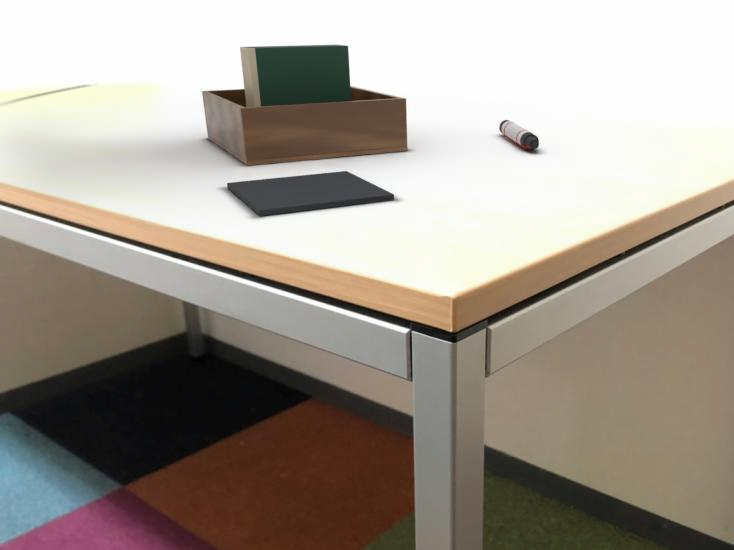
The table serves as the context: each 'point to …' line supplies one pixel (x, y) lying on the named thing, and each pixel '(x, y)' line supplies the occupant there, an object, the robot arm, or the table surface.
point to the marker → (519, 135)
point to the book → (295, 74)
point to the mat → (307, 192)
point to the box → (306, 127)
